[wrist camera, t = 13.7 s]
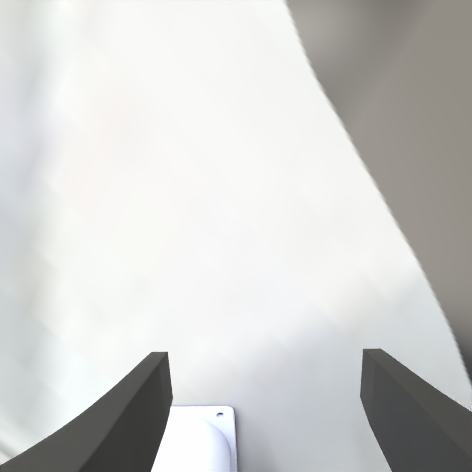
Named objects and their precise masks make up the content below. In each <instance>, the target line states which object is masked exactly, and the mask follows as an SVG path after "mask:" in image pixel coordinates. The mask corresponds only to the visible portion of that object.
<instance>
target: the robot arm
mask: <svg viewBox="0 0 472 472" xmlns="http://www.w3.org/2000/svg"><path fill="white" fill-rule="evenodd" d="M360 398H361V401H362V404H363V407H364V410H365V413H366V415H367V418H368V421H369V424H370V426H371V428H372V431H373V433H374V435H375V437H376V439H377V441H378V443H379V445H380V448H381V450H382V452H383V454H384V456H385V458H386V460H387V462H388V464H389V466H390V468H391V470H392V472H472V412H471V411H469V410H468V409H466V408H465V407H463V406H461V405H460V404H458V403H457V402H455V401H454V400H452V399H451V398H449V397H448V396H446V395H445V394H443V393H442V392H440V391H439V390H437V389H436V388H434V387H433V386H431V385H430V384H429V383H427V382H426V381H424V380H423V379H422V378H420V377H419V376H417V375H416V374H415V373H413V372H412V371H411V370H409V369H408V368H407V367H405V366H404V365H403V364H401V363H400V362H398V361H397V360H396V359H394V358H393V357H392V356H390V355H389V354H388V353H386V352H385V351H383V350H382V349H363V361H362V377H361V392H360ZM172 399H173V395H172V387H171V378H170V369H169V360H168V352H151V353H150V354H149V355H148V356H147V357H146V358H145V359H143V360H142V361H141V362H140V363H139V364H138V365H137V366H136V367H135V368H134V369H133V370H132V371H131V372H130V373H129V374H127V375H126V376H125V377H124V378H123V379H122V380H121V381H120V382H119V383H118V384H117V385H115V386H114V387H113V388H112V389H111V390H110V391H108V392H107V393H106V394H105V395H104V396H102V397H101V398H100V399H99V400H98V401H96V402H95V403H94V404H93V405H92V406H90V407H89V408H88V409H87V410H85V411H84V412H83V413H81V414H80V415H79V416H77V417H76V418H75V419H73V420H72V421H71V422H69V423H68V424H66V425H65V426H63V427H62V428H61V429H59V430H58V431H56V432H55V433H53V434H52V435H50V436H48V437H47V438H45V439H44V440H42V441H41V442H39V443H37V444H36V445H34V446H33V447H31V448H29V449H28V450H26V451H25V452H23V453H21V454H20V455H18V456H16V457H14V458H13V459H11V460H9V461H7V462H6V463H4V464H2V465H0V472H238V471H237V452H236V434H235V416H234V410H233V408H231V407H228V406H192V407H171V404H172ZM219 413H223V414H219Z"/></svg>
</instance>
